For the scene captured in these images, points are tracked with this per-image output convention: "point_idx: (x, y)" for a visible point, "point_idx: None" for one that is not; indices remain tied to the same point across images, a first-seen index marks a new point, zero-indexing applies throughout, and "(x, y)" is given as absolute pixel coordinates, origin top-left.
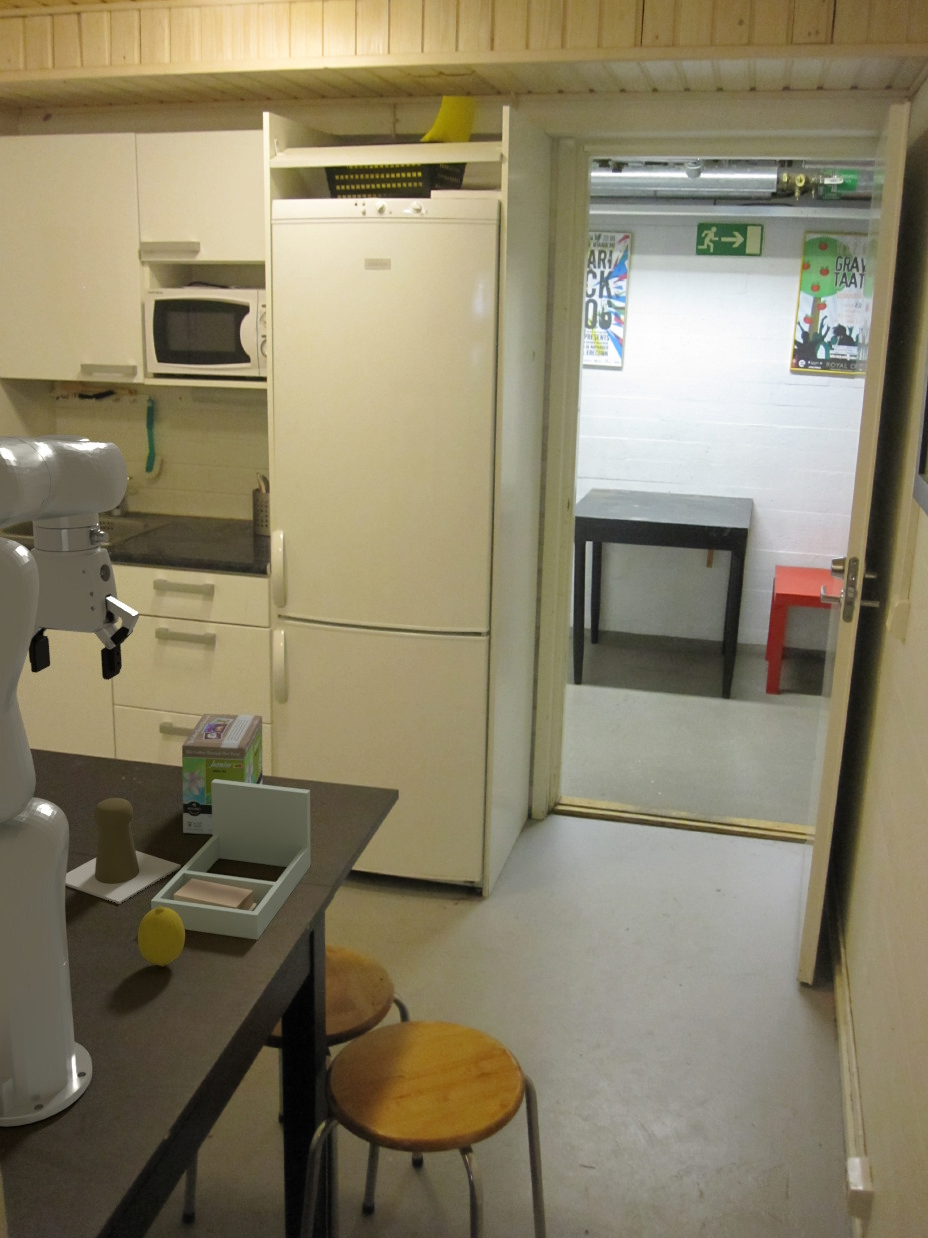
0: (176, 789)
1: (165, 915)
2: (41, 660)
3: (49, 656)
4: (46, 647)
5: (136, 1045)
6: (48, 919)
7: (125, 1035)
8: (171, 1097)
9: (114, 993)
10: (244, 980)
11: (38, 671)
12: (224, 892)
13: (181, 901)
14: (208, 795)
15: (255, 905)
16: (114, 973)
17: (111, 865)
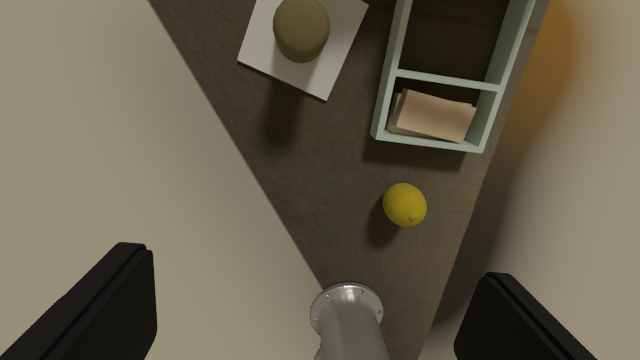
0: None
1: (418, 220)
2: (132, 342)
3: (125, 280)
4: (86, 353)
5: (398, 273)
6: None
7: (389, 266)
8: (429, 307)
9: (367, 228)
10: (461, 202)
11: (155, 325)
12: (447, 115)
13: (406, 137)
14: None
15: None
16: (359, 206)
17: (304, 59)
